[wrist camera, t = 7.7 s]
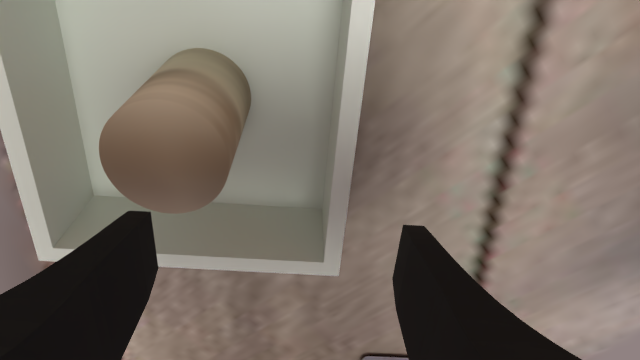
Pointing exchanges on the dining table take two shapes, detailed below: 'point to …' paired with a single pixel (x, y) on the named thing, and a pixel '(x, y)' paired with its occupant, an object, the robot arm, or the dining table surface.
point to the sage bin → (255, 143)
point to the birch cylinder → (178, 133)
